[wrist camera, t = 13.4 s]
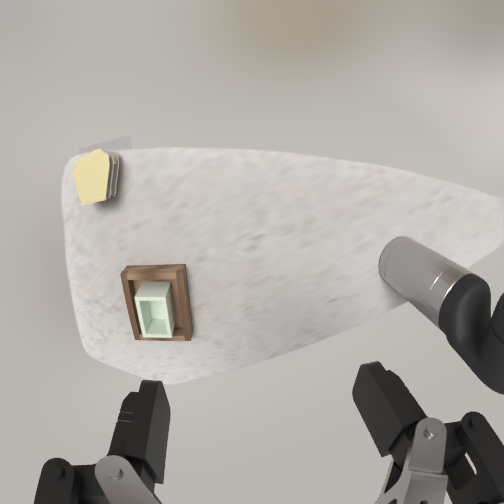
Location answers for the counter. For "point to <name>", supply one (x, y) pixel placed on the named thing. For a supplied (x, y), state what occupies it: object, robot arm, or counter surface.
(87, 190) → the stacked layers on plate
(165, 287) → the box
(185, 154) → the counter surface
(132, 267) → the big crate
